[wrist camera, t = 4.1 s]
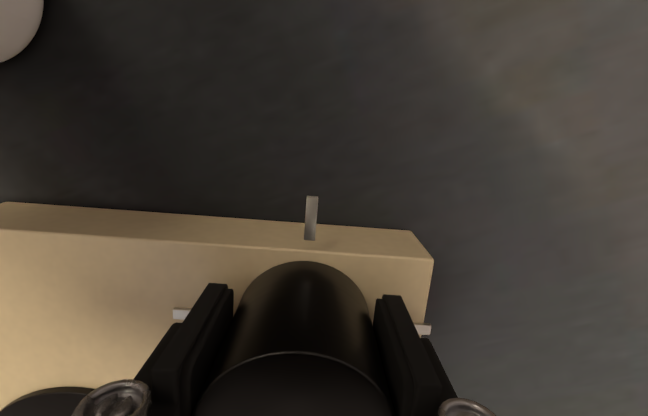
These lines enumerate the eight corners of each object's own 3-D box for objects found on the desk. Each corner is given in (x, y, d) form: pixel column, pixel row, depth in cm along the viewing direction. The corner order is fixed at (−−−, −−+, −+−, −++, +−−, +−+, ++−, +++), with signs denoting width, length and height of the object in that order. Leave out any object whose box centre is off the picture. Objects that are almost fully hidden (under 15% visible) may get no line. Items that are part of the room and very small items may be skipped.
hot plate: (-1, 154, 13) (-97, 166, 10) (423, 187, 14) (453, 207, 11) (49, 476, 17) (-9, 554, 14) (376, 492, 18) (387, 570, 15)
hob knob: (239, 255, 11) (180, 355, 6) (376, 264, 11) (416, 369, 7) (236, 372, 12) (185, 530, 8) (361, 379, 12) (387, 538, 8)
